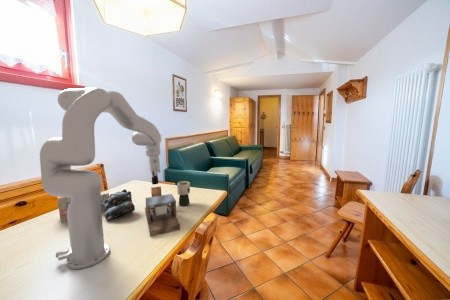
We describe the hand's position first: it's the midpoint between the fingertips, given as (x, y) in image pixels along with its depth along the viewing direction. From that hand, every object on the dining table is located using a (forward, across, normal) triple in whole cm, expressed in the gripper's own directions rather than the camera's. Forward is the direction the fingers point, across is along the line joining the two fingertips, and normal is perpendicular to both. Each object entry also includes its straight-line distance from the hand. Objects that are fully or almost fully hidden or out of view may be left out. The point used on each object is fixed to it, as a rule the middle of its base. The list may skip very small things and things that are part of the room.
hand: (155, 183), depth 113 cm
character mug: (+13, -8, -15) cm, 21 cm away
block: (+10, -22, 0) cm, 24 cm away
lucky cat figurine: (+12, -6, +19) cm, 24 cm away
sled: (+9, -16, 0) cm, 19 cm away
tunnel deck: (+12, -22, 0) cm, 25 cm away
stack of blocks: (+12, +4, +35) cm, 37 cm away
